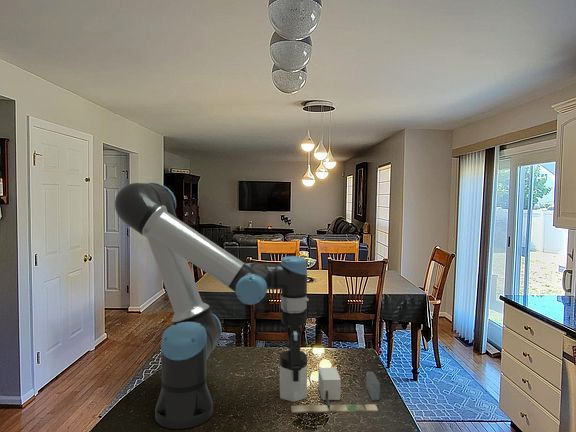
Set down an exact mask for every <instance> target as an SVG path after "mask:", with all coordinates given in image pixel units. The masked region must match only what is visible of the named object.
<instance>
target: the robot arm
mask: <svg viewBox="0 0 576 432" xmlns="http://www.w3.org/2000/svg"><path fill="white" fill-rule="evenodd" d="M176 208H177V199H176V196H175V195H174V192H173V191H171V189H170V188H169V187H167V186H166V185H163V184H159V183H157V182H148V183H146V182H134V183H133V182H132V183H129V184H127V185H124V186H123V187H122V188H121V189H120V190H119V191H118V193H117V194H116V196H115V199H114V209H115V212H116V215H117V217H119V219H120V220H121V221H122V222H123V223H124V224H126V225H127V226H129V227H130V228H131V229H133V230H134V231H136V232H138V233H139V235H141V236H143V237H146V239H147V242H148V244H149V248H150V250H151V253H152V256H153V258H154V261H155V263H156V266H157V268H158V272H159V274H160V277H161V280H162V282H163V285H164V288H165V290H166V294H167V296H168V299H169V301H170V305H171V307H172V309H173V312H174V313H173V316H172V318H171V323H172V325H170V326H169V327H167V328H166V329H165V330H164V332H163V333H162V335H161V342H160V350H161V354H160V356H161V358H160V359H161V389H160V392H159V396H158V399H157V401H156V404H155V408H154V409H155V410H154V414H155V415H154V417H155V422H156V423H157V424H158V425H160V426H161V427H164V428H167V429H170V430H171V429H172V430H184V429H190V428H191V429H192V428H194V427H197V426H200V425H202V424H204V423H205V422H207V421H208V420H209V419H210V418H211V417H212V415H213V410H214V403H213V398H212V396H211V392H210V390H209V388H208V387H209V386H208V384H207V361H208V358H209V357H210V356H211V354H212V352H213V351H214V350H215V349H216V348H217V347H218V345H219V342H220V341H221V336H222V333H223V332H222V329H223V328H222V324H221V321H220V319H219V318H218V317H217V316H216V314H215V313H213V312H212V310H211V307H210V305H209V304H207V303H205V302H204V301H203V300H202V298H201V295H200V293H199V289H198V286H197V284H196V281H195V279H194V275H193V273H192V270H191V268H190V265H189V262H190V263H191V264H193V265H194V266H196V267H197V268H199V269H200V270H201V271H203V272H205V273H206V274H207V275H209V276H211V277H212V278H214V279H215V280H217V281H218V282H220V283H221V284H223V285H224V286H226V287H227V288H229V289H230V290H231V291H234V292H235V295H236V298H237V299H238V300H239V301H240V302H241V303H242V304H244V305H255V304H256V305H257V304H258V303H259V302H260V301H262V299H263V298H265V296H266V295H267V292H268V290H270V291H271V290H276V291H277V290H278V291H280V290H281V293H280V294H281V295H280V309H281V310H280V311H281V312H280V314H281V315H280V317H281V319H280V322H281V324H283V325H285V326H287V327H286V334H287V348H288V349H287V351H290V350H291V367H289V370H291V392H300V370H301V356H300V351H301V345H302V344H301V343H302V341H301V340H302V339H301V336H302V330H301V326H304V325H306V324H307V321H308V318H307V317H308V314H307V313H308V310H307V308H308V307H307V304H308V303H307V302H309V301H310V299H309V298H308V295H307V294H308V293H307V292H308V269H307V268H308V266H307V259H306V258H305V257H303V256H296V255H294V256H293V255H291V256H284V257H281V259H280V260H281V261H280V262H279V263H256V262H251V263H245V262H243V261H242V260H240V259H239V258H237V257H236V256H235V255H233V254H231V253H230V252H228V251H227V250H225V249H224V248H222V247H220V246H219V245H218V244H216V243H215V242H213V241H211V240H210V239H209V238H207V237H206V236H205V235H203V234H201V233H199V231H197V230H195V229H194V228H192V227H191V226H189V225H188V224H186V223H184V222H183V221H182V220H180V219H179V218H178V216H177V213H176Z"/></svg>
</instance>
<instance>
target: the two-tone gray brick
mask: <svg viewBox="0 0 576 432" xmlns="http://www.w3.org/2000/svg"><path fill="white" fill-rule="evenodd" d="M365 378H366V379H365V388H366V390H367V392H368V394H369V396H370V398H371V401H380V399H381V397H380V396H381V394H380V393H381V392H380V391H381V390H380V389H381V386H380V385H381V383H380V381H379V380H378V377H377V376H376V374H375V373H374V371H366V377H365Z"/></svg>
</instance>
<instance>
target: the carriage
mask: <svg viewBox="0 0 576 432" xmlns="http://www.w3.org/2000/svg"><path fill="white" fill-rule="evenodd" d="M317 381H318V384H317V385H318V387H317V388H318V391H319V394H320V399H321V400H323V401H326V402H325V403H326V405H327V406H328V407H330V405H331V403H330V401H340V400H341V385H342V384H341V382H342V381H341V376H340V374H339V371H338V369H337V367H319V368H318V380H317Z"/></svg>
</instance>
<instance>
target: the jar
mask: <svg viewBox="0 0 576 432" xmlns="http://www.w3.org/2000/svg"><path fill="white" fill-rule="evenodd" d="M300 356H301V370H300V392H291V370H289V367H291V350H290V351H288V350H285V351H283V352H281V353H280V354H279V382H278V383H279V385H278V386H279V389H278V390H279V399H280V400H285V401H289V402H293V403H295V402H298V401H301V400H304V399H307V398H308V393H307V392H308V355H307V353H306V352H303V351H302V350H300Z"/></svg>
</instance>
